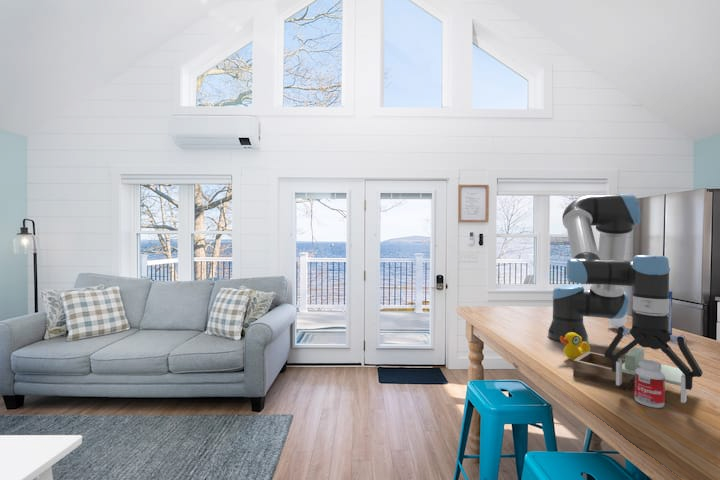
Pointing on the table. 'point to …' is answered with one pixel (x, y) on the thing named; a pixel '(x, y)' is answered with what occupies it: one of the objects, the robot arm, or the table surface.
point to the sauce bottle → (617, 322)
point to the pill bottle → (649, 384)
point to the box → (600, 370)
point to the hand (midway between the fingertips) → (649, 392)
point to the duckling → (574, 345)
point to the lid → (632, 362)
